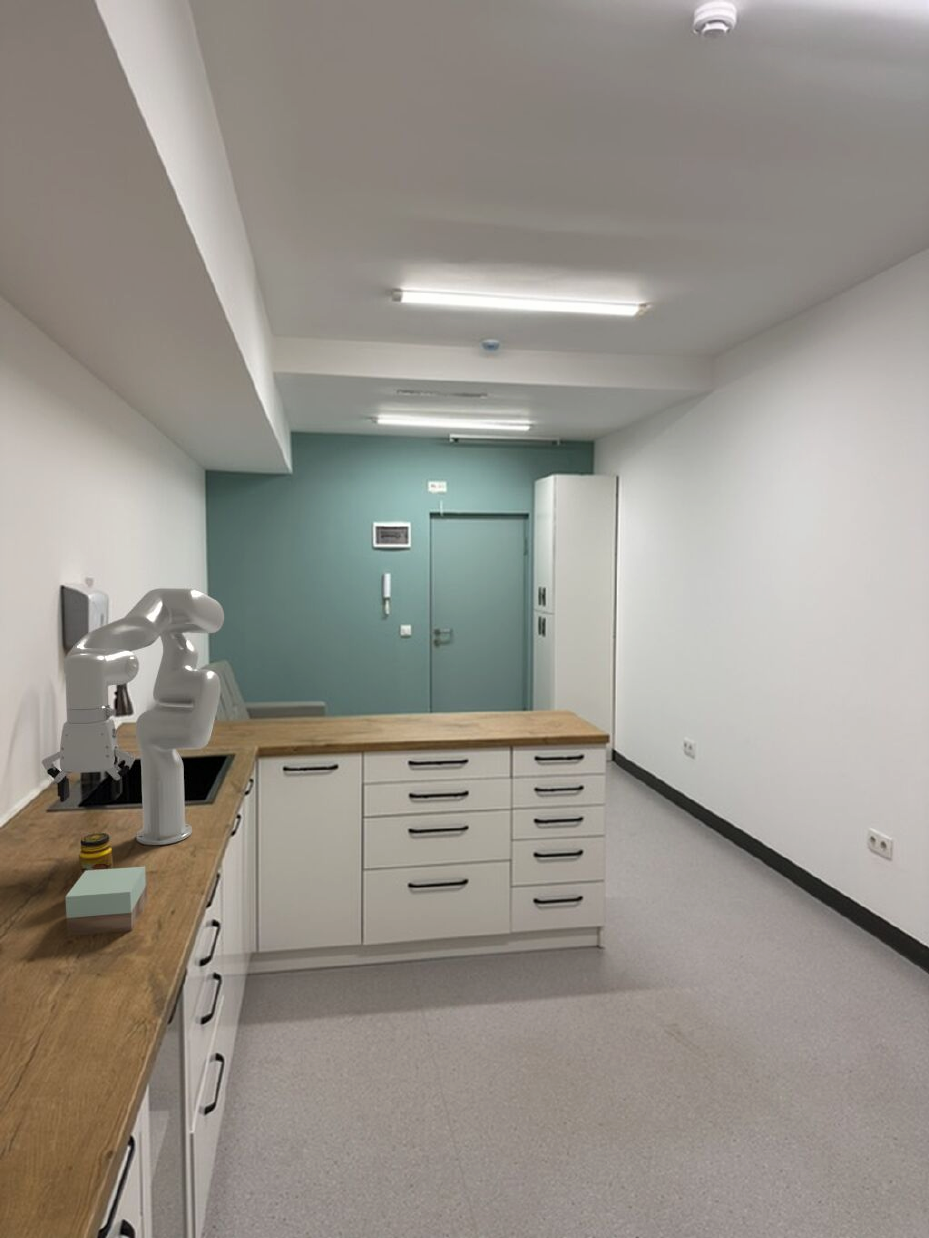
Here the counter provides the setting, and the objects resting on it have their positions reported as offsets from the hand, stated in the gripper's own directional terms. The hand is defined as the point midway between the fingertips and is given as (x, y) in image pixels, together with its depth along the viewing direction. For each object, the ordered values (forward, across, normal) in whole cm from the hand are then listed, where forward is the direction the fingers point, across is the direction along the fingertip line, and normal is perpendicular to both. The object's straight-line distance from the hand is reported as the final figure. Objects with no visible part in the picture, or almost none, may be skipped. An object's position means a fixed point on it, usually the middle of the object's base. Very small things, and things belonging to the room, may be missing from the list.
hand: (90, 798), depth 147 cm
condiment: (+20, 0, -1) cm, 20 cm away
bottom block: (+20, -6, +11) cm, 24 cm away
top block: (+16, -6, +11) cm, 21 cm away
